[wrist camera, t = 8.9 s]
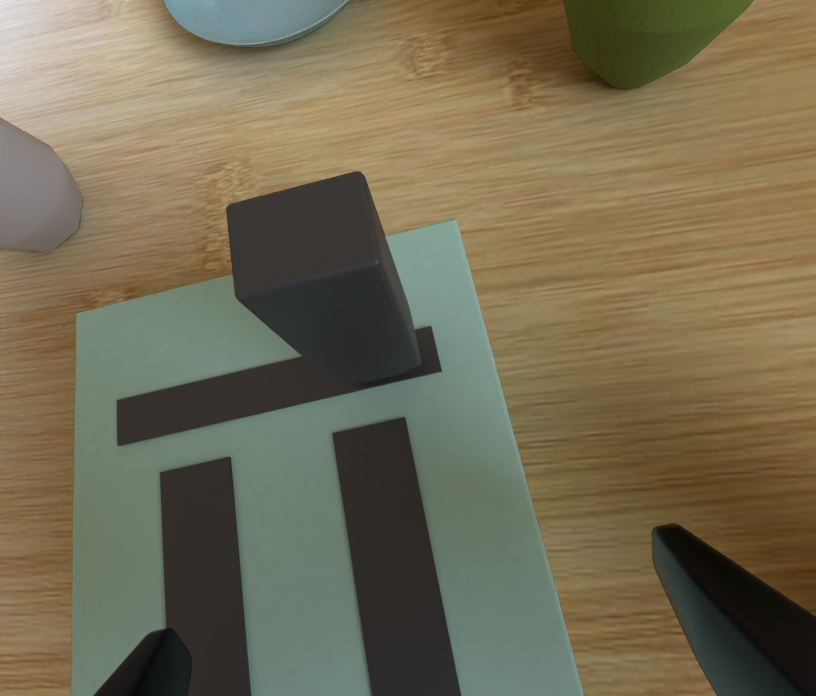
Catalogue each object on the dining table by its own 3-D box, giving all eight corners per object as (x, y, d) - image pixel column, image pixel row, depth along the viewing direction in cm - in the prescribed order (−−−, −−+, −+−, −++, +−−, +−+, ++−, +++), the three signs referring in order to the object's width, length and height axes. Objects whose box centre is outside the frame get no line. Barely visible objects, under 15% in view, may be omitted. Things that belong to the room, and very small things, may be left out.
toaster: (580, 775, 17) (679, 1033, 8) (254, 833, 17) (55, 1122, 9) (465, 324, 22) (457, 212, 14) (218, 382, 22) (69, 309, 14)
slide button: (427, 379, 12) (381, 262, 6) (347, 398, 12) (232, 300, 7) (415, 322, 13) (362, 166, 7) (338, 340, 13) (222, 202, 7)
